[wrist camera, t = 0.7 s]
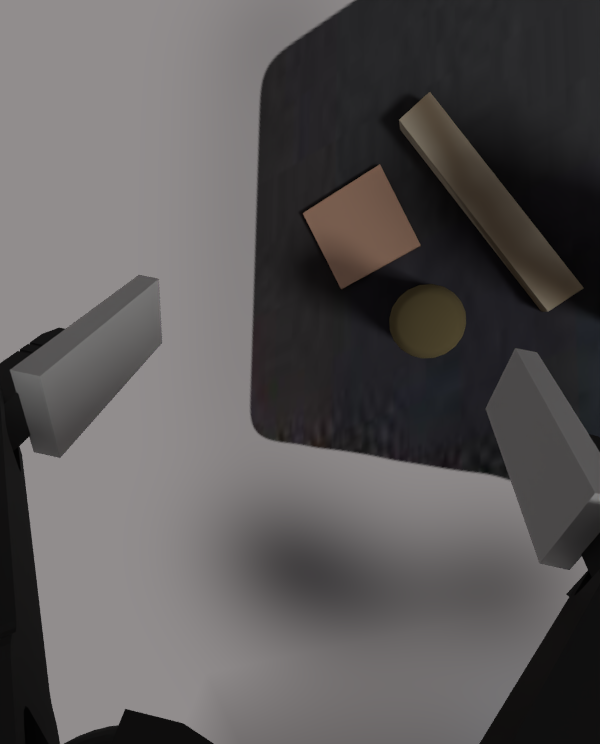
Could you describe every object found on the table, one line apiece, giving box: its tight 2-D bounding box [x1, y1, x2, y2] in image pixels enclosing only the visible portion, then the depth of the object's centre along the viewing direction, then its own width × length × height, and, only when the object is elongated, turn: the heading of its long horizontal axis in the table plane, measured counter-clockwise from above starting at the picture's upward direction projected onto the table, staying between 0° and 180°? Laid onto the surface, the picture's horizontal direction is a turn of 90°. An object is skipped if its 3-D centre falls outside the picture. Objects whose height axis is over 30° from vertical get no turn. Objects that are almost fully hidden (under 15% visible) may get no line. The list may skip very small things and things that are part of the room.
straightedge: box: [399, 92, 583, 312], centre depth 35 cm, size 3×20×2 cm, turn 38°
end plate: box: [303, 164, 421, 289], centre depth 39 cm, size 8×8×1 cm
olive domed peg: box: [389, 284, 466, 358], centre depth 34 cm, size 6×6×11 cm
